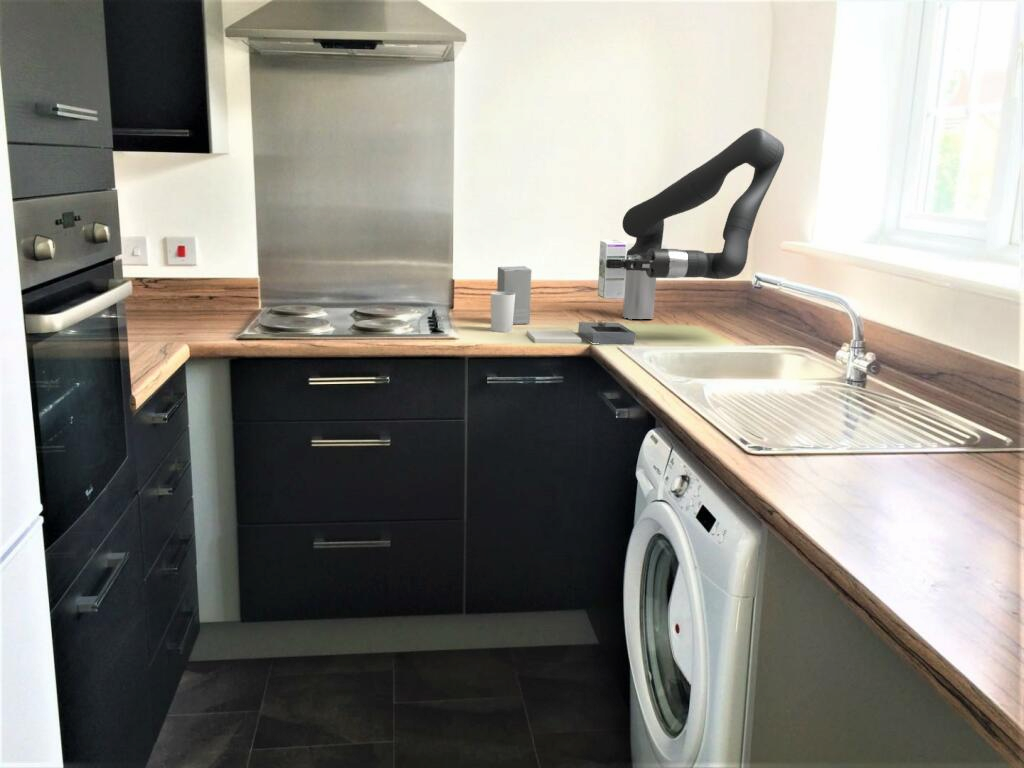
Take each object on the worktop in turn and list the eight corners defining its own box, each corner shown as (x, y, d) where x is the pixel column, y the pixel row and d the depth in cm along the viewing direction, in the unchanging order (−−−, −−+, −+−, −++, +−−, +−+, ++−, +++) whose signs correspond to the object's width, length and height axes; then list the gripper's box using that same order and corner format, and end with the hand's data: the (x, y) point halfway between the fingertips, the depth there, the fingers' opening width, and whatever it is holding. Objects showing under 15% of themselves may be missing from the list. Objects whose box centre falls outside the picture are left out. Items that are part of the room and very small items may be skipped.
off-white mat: (526, 333, 248) (526, 330, 248) (570, 334, 250) (571, 330, 250) (535, 342, 237) (535, 338, 237) (581, 342, 239) (581, 339, 239)
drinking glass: (498, 327, 257) (500, 291, 254) (518, 330, 253) (520, 293, 251) (484, 330, 251) (485, 293, 249) (504, 333, 248) (505, 295, 245)
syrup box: (625, 299, 239) (628, 241, 236) (602, 299, 238) (606, 241, 234) (618, 295, 244) (621, 239, 241) (596, 295, 243) (599, 239, 240)
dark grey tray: (578, 333, 253) (579, 318, 252) (617, 333, 254) (618, 318, 254) (592, 344, 237) (593, 328, 236) (634, 344, 239) (635, 329, 238)
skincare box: (522, 320, 269) (525, 265, 265) (530, 325, 262) (533, 268, 259) (494, 321, 266) (496, 265, 263) (502, 325, 260) (504, 268, 256)
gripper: (659, 245, 247) (597, 244, 244) (677, 251, 233) (611, 250, 231) (656, 274, 249) (595, 273, 246) (674, 281, 235) (609, 280, 232)
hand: (603, 262), depth 238 cm, fingers closed on syrup box, 6 cm apart
